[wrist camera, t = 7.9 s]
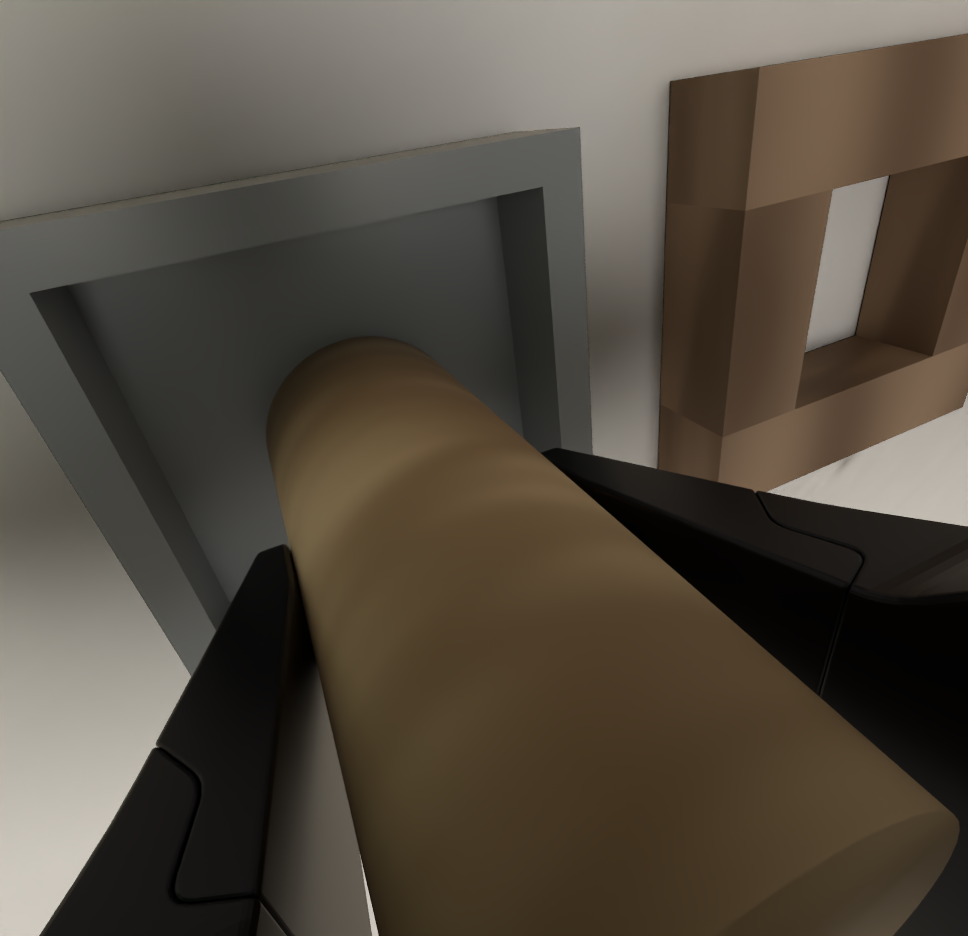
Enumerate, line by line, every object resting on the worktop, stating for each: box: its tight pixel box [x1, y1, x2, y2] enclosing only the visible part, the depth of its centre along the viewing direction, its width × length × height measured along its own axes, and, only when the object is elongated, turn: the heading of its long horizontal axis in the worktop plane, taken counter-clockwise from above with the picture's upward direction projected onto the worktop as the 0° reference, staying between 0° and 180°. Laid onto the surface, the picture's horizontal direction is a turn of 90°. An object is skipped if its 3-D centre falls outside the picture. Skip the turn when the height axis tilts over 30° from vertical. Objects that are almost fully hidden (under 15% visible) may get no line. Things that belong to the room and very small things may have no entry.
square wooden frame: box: [658, 34, 968, 492], centre depth 16 cm, size 10×10×2 cm
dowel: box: [266, 336, 960, 936], centre depth 8 cm, size 4×4×10 cm
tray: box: [0, 127, 593, 676], centre depth 12 cm, size 10×10×2 cm
